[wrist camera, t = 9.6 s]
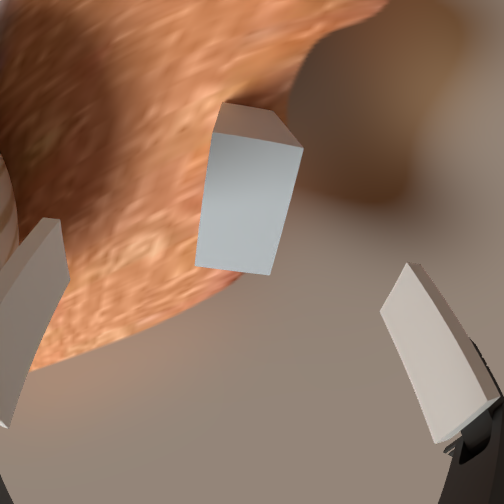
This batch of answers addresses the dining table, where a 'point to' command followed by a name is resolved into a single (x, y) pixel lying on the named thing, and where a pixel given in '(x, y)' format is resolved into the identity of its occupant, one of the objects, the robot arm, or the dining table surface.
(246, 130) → the stub
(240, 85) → the dining table surface
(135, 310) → the dining table surface
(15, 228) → the decorative bowl
